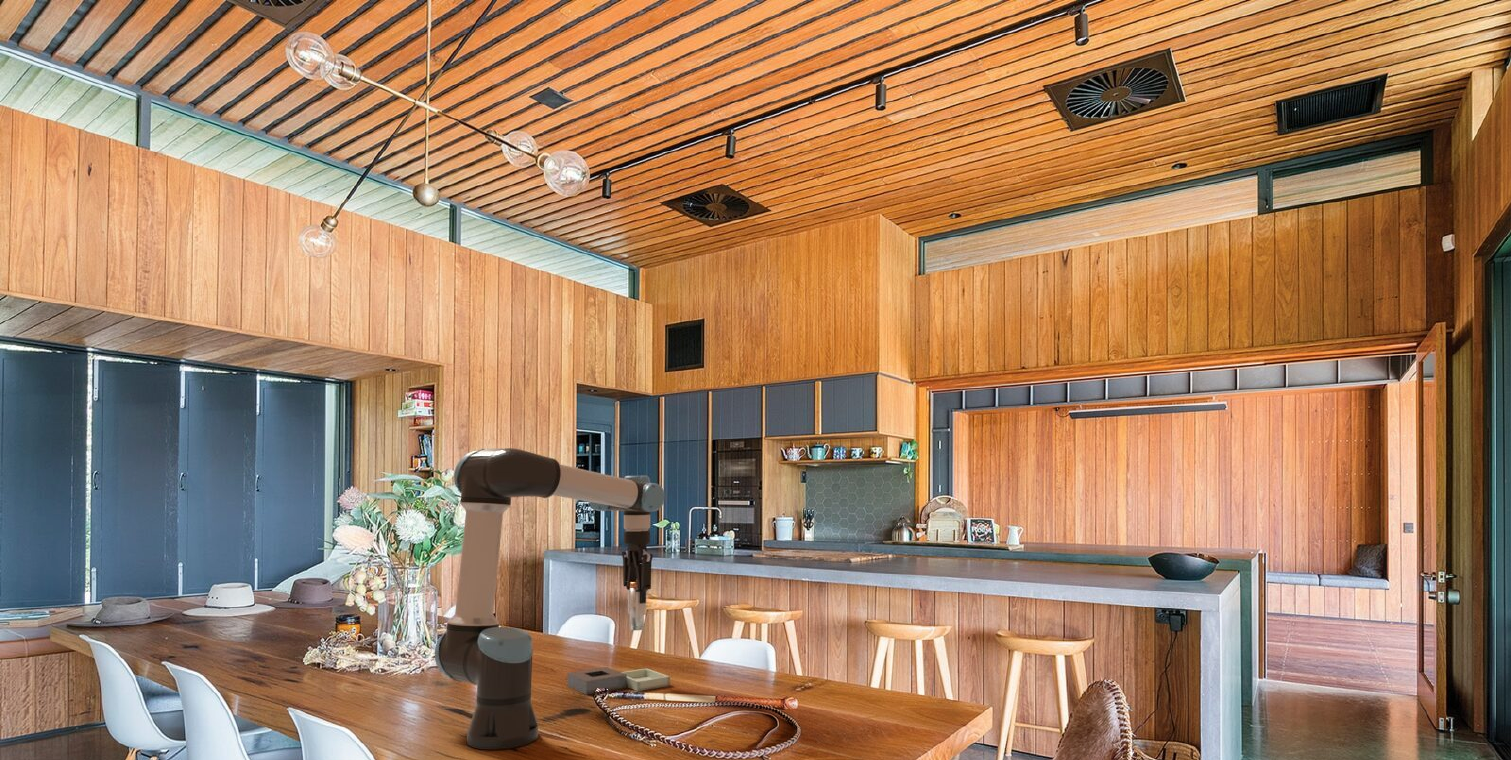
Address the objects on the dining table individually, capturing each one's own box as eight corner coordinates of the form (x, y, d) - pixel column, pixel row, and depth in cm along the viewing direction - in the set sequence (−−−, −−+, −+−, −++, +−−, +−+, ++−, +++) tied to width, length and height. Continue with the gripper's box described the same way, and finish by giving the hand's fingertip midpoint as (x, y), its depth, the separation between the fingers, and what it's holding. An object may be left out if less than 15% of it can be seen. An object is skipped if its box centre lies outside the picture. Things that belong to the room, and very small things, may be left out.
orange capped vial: (634, 630, 235) (634, 583, 237) (627, 628, 238) (627, 581, 240) (646, 629, 238) (646, 582, 239) (639, 627, 241) (639, 580, 242)
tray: (637, 691, 228) (638, 681, 228) (615, 682, 239) (615, 673, 239) (669, 685, 234) (669, 676, 234) (646, 677, 244) (646, 668, 245)
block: (586, 694, 225) (586, 680, 226) (567, 685, 235) (567, 672, 235) (626, 687, 232) (626, 674, 233) (606, 679, 242) (606, 666, 242)
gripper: (664, 530, 237) (664, 616, 234) (633, 527, 250) (633, 608, 247) (640, 532, 232) (640, 619, 229) (611, 529, 245) (610, 611, 243)
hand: (636, 613), depth 238 cm, fingers closed on orange capped vial, 4 cm apart
